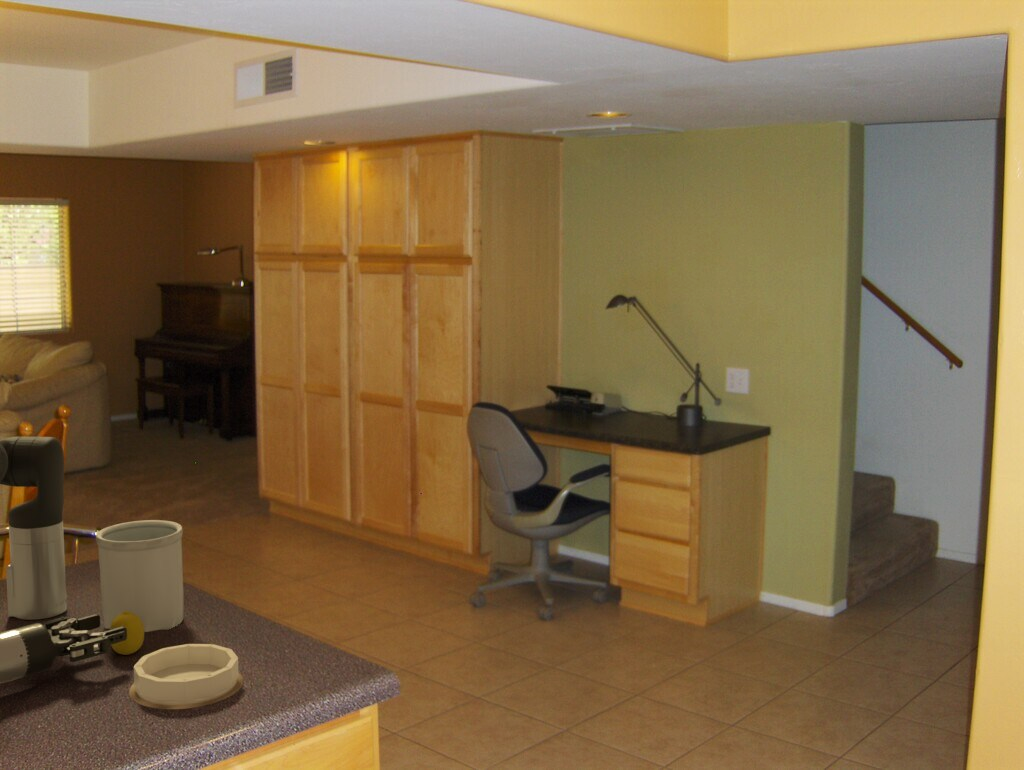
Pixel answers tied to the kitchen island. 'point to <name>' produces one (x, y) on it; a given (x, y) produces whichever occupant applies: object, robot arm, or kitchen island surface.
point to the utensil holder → (142, 572)
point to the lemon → (128, 633)
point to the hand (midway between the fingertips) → (112, 626)
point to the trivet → (134, 697)
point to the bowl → (186, 674)
